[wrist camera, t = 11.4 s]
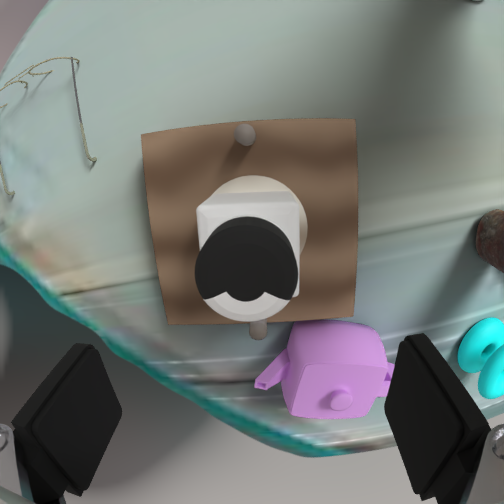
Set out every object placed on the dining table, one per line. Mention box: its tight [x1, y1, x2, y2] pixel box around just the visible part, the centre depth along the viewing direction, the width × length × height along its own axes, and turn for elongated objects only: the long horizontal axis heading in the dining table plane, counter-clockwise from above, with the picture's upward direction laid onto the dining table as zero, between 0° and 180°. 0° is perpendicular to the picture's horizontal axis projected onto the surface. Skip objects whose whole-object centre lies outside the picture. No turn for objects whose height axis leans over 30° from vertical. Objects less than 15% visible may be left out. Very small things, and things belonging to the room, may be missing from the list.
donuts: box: [458, 318, 504, 399], centre depth 33 cm, size 10×10×10 cm
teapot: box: [254, 320, 395, 419], centre depth 34 cm, size 18×10×10 cm, turn 83°
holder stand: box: [141, 118, 358, 340], centre depth 29 cm, size 20×20×9 cm
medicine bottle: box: [195, 191, 300, 322], centre depth 23 cm, size 7×7×12 cm
